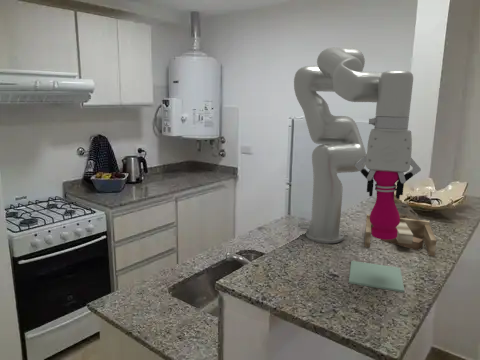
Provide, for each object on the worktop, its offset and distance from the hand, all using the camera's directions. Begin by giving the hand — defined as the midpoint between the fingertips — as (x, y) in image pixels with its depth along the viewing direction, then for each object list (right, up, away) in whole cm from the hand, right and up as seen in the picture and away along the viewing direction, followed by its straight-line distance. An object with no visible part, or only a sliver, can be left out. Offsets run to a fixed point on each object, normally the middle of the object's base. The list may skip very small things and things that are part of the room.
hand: (383, 195), depth 93 cm
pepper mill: (+1, -11, +2) cm, 11 cm away
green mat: (0, -22, +5) cm, 22 cm away
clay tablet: (+28, -11, +55) cm, 63 cm away
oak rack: (+15, -16, +29) cm, 36 cm away
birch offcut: (+16, -14, +26) cm, 34 cm away
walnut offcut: (+16, -17, +28) cm, 36 cm away
